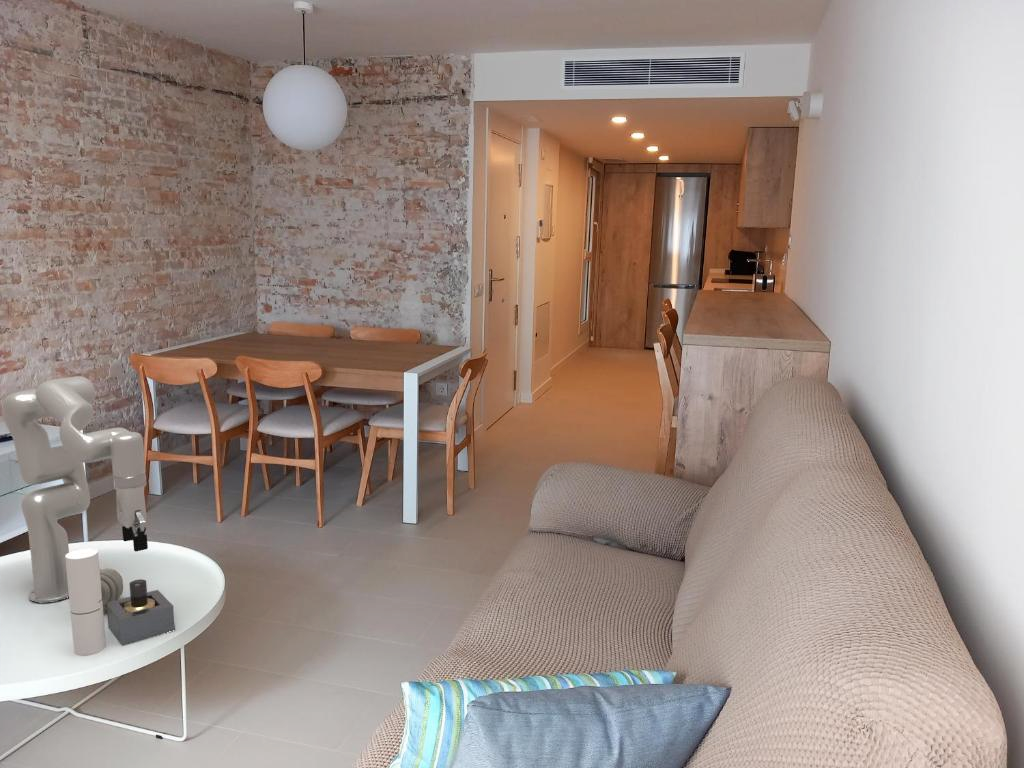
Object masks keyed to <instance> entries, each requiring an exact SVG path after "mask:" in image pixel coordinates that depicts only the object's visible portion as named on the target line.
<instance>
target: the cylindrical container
mask: <svg viewBox="0 0 1024 768" xmlns="http://www.w3.org/2000/svg"><path fill="white" fill-rule="evenodd" d="M65 558H66V569H67V580H68V590H69V598H68V599H69V600H68V601H69V609H70V620H71V631H72V641H73V643H72V644H73V652H74V654H75V655H77V656H91V655H94V654H95V655H96V654H98V653H100V652H102V651H104V650H105V649H106V648H107V641H106V639H107V637H106V630H105V629H106V628H105V617H104V616H105V615H103V603H102V592H101V580H100V569H101V567H100V561H99V559H100V558H99V551H98V549H96V548H90V547H87V548H80V549H74V550H72V551H69V553H67V554H66V555H65Z"/></svg>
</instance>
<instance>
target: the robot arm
mask: <svg viewBox="0 0 1024 768" xmlns="http://www.w3.org/2000/svg"><path fill="white" fill-rule="evenodd" d="M96 394H97V393H96V388H95V385H94V384H93V382H92V381H91V380H90V379H88V378H87V377H85V376H80V375H76V376H68V377H60V378H53V379H48V380H46V381H43V382H41V384H39V385H38V386H37V388H33V389H26V390H20V391H17V392H13V393H11V394H9V395H7V396H6V397H5V398H4V399H3V401H2V404H1V415H2V418H3V421H4V424H5V426H6V427H7V430H8V431H9V433H10V435H11V437H12V440H13V445H14V449H15V455H16V458H17V462H18V467H19V472H20V475H21V478H22V480H23V481H24V483H25V484H27V485H30V486H33V485H34V486H36V485H41V484H46V483H51V482H54V481H58V480H62V482H63V483H60V484H55V485H51V486H47V487H43V488H39V489H36V490H34V491H32V492H29V493H28V494H26V495H25V496H24V497H23V499H22V500H21V510H22V514H23V517H24V521H25V523H26V529H27V533H28V542H29V550H30V558H31V559H30V560H31V571H32V580H33V589H32V590H31V591H30V592H29V593H28V599H30V600H32V601H35V602H51V601H56V602H58V601H57V600H61V599H64V600H66V599H65V598H67V597H69V590H68V580H67V569H66V558H65V555H66V554H67V553H69V552H70V548H69V540H68V533H67V530H66V529H65V528H64V527H63V526H62V525H61V524H60V523H58V520H61V519H63V518H66V517H70V516H71V517H72V516H74V515H77V514H81V513H83V512H85V511H87V509H88V508H89V507H90V503H91V496H90V495H91V493H90V490H89V485H88V480H87V475H86V471H85V466H84V464H89V463H95V462H100V461H105V460H108V459H111V468H112V480H113V488H114V490H116V491H115V493H116V518H117V521H118V523H120V524H121V525H122V526H121V531H122V540H123V541H124V542H128V541H129V542H130V541H133V542H132V545H133V552H136V553H137V552H140V551H145V550H148V548H149V545H148V535H147V532H148V531H147V528H146V524H147V522H148V521H147V508H146V499H145V493H144V488H145V487H146V486H147V475H146V464H145V451H144V440H143V439H144V438H143V436H142V434H141V433H139V432H137V431H130V430H128V429H126V428H124V427H113V428H106V429H102V430H95V431H92V432H88V433H86V432H85V433H83V432H81V430H83V429H84V428H86V427H87V426H88V425H89V424H90V423H91V421H92V419H93V417H94V414H95V412H94V407H93V406H92V403H93V402H94V401H95V398H96ZM48 418H54V420H56V421H57V422H58V423H60V425H59V426H60V427H59V437H60V441H61V445H57V446H53V447H52V446H51V443H50V439H49V435H48V432H47V430H46V429H45V428H44V427H43V426H42V425H41V424H40V423H39V422H37V420H40V419H48ZM67 599H68V598H67ZM30 600H29V601H30ZM32 601H31V602H32ZM61 601H62V600H61ZM35 602H34V603H35ZM51 603H52V602H51Z"/></svg>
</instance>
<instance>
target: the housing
mask: <svg viewBox="0 0 1024 768" xmlns="http://www.w3.org/2000/svg"><path fill="white" fill-rule="evenodd" d="M147 598H150V599H153V600H154V601H155V607H151V608H147V609H143V610H140V611H136V612H132V613H128V614H127V612H126V611H125V610H124V605H125V604H126V603H128V602H130V601H131V598H130V596H128V597H124V598H119V600H115V601H111V602H107V603H106V617H107V628H108V629H109V631H110V632H111V633H112V635H113V636H114V638H115V639H116V640H117V642H118V643H119V644H120V645H121V646H122V647H123V646H126V645H130V644H133V643H138V642H141V641H144V640H148V639H152V638H154V636H155V637H158V636H162V635H164V634H163V633H165V634H167V632H169V631H172V632H174V631H173V630H175V631H176V628H175V627H176V625H175V615H174V614H175V613H174V605H173V604H172V602H171V601H170V600H169V599H167V598H166V597H165V596H164V594H162V592H160V590H159V589H155V590H151V591H147ZM169 633H170V632H169ZM161 634H162V635H161ZM157 635H158V636H157Z"/></svg>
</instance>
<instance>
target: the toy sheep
mask: <svg viewBox="0 0 1024 768" xmlns="http://www.w3.org/2000/svg"><path fill="white" fill-rule="evenodd" d="M100 580H101V592H102V603H103V615H104V616H106V615H107V607H106V603H107V602H111V601H115V600H119V599H120V598H121V596H122V594H123V592H124V580H123V577H122V575H121V574H120V572H118V571H117V570H116V569H113V568H109V567H108V568H102V569H101V568H100Z"/></svg>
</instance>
